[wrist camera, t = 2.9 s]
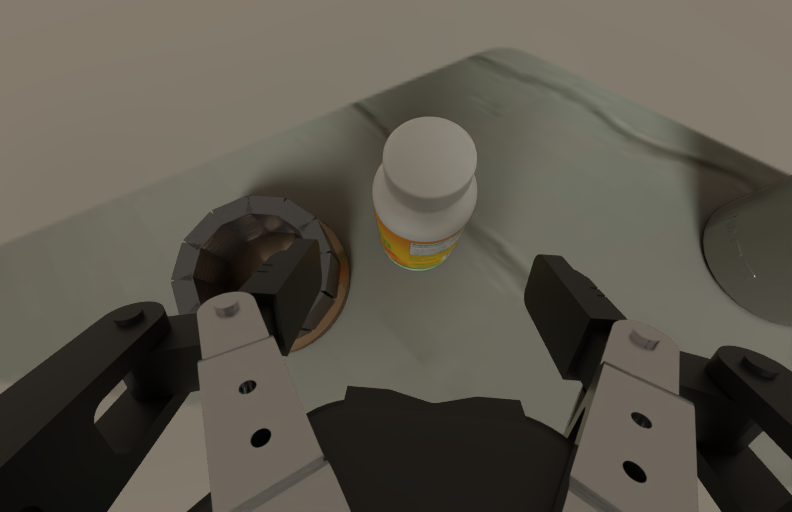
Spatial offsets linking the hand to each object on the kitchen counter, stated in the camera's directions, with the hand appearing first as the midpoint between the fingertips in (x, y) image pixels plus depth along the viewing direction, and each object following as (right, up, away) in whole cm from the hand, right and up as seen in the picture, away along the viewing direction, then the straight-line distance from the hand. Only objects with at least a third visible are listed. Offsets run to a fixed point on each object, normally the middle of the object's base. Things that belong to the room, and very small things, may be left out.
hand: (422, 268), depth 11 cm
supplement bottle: (+1, +2, +11) cm, 11 cm away
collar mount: (-9, -1, +10) cm, 13 cm away
